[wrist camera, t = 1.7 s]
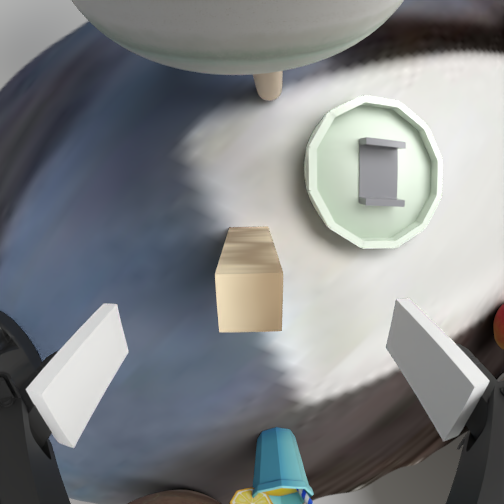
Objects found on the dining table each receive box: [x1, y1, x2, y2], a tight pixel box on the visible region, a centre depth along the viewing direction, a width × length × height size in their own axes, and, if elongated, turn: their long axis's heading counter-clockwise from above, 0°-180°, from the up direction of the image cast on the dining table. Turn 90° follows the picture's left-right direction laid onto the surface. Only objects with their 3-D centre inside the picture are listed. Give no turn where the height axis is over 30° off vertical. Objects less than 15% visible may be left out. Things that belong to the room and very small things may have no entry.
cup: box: [229, 427, 314, 504], centre depth 28 cm, size 14×8×15 cm, turn 94°
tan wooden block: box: [215, 227, 283, 332], centre depth 21 cm, size 4×4×12 cm
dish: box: [304, 95, 443, 249], centre depth 24 cm, size 14×14×3 cm
